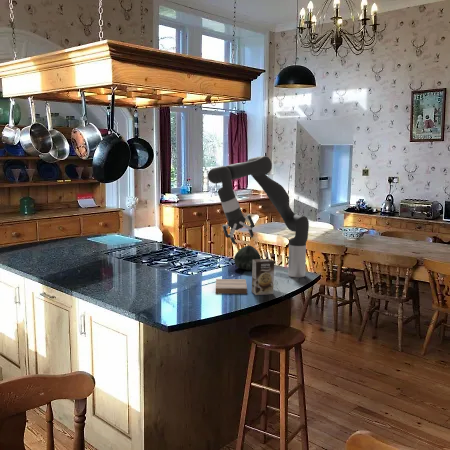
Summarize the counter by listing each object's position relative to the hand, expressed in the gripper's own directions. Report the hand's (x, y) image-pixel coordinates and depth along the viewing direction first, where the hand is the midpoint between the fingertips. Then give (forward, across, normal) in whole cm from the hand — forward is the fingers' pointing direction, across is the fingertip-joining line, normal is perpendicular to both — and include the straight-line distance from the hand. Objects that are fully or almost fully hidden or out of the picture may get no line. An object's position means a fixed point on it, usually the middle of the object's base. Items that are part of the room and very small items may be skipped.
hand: (243, 240), depth 235 cm
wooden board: (+24, +12, -11) cm, 29 cm away
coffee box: (+28, 0, -1) cm, 28 cm away
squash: (+32, -4, -49) cm, 59 cm away
